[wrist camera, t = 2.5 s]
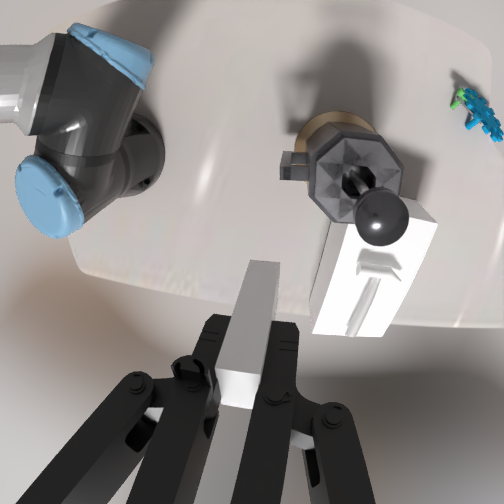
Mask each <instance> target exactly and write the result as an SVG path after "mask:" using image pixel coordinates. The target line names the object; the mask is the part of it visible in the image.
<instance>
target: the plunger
mask: <svg viewBox="0 0 504 504" xmlns="http://www.w3.org/2000/svg"><path fill="white" fill-rule="evenodd" d="M373 181H374V174H373V173H372V172H371V170H370V169H369V168H368V167H366V166H357V165H353V166H352V167H351V168H350V169H349V170H347V171H346V172H345V173H344V174H343V175H342V188H343V190H344V191H345V192H346V193H347V194H348V195H349V196H357V197H359V198H358V199H357V200H356V202H355V204H354V207H353V221H354V223H355V226H356V228H357V231H358V233H359V235H360V237H361V238H362V239H363V240H364V241H365V242H366V243H368V244H370V245H373V246H387V245H390V244H393V243H395V242H396V241H398V240H399V239H400V238H401V237H402V236H403V234H404V233H405V231H406V229H407V227H408V224H409V212H408V209H407V207H406V205H405V203H404V202H403V201H402V200H401V199H400V197H399V196H398V195H397V194H396V193H395V192H393V191H392V190H390V189H388V188H384V187H375V188H373Z"/></svg>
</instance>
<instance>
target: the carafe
mask: <svg viewBox="0 0 504 504" xmlns="http://www.w3.org/2000/svg"><path fill="white" fill-rule="evenodd" d="M291 164H305V165H291ZM353 165H357V166H366V167H368V168H369V169H370V170H371V172H372V173H373V174H374V181H373V188H375V187H384V188H388V189H390V190H392V191H393V192H395V193H396V194H397V195H398V196H399V194H400V188H401V181H402V174H403V165H402V163H401V162H400V161H399V159H398V158H397V156H396V155H395V154H394V152H393V151H392V150H391V148H390V147H389V145H388V144H387V143H386V142H385V140H384V139H383V138H382V136H381V135H379V134H377V133H375V132H373V131H371V130H368V129H366V128H364V127H362V126H360V125H358V124H352V123H346V122H330V121H328V122H326V123H325V124H324V125H322V126H321V127H319V128H318V129H316V130H315V131H314V132H313V134H312V135H311V136H310V137H309V138H308V139H307V140H306V149H305V152H292V151H283V154H282V159H281V163H280V180H297V181H307V187H308V195H309V197H310V198H311V199H312V200H313V201H314V202H315V203H316V204H317V205H318V206H319V208H320V209H321V210H322V211H323V212H324V213H325V214H326V215H327V216H328V217H329V218H330V219H331V221H332V222H334V223H345V224H355V223H354V221H353V207H354V204H355V202H356V200H357V199H358V198H359V197H357V196H349V195H348V194H347V193H346V192H345V191H344V190H343V188H342V175H343V174H344V173H345V172H346V171H347V170H349V169H350V168H351V167H352V166H353Z"/></svg>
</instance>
